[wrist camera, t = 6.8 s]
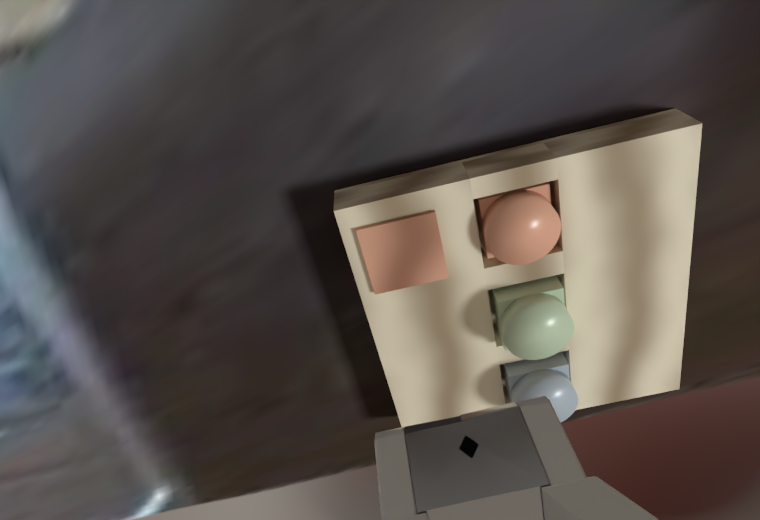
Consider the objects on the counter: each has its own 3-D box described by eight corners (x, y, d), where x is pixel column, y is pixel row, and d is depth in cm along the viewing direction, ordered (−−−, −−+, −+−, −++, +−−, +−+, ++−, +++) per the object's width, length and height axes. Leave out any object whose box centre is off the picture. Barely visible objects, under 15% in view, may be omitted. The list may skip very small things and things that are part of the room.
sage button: (496, 334, 40) (508, 366, 37) (489, 284, 38) (501, 314, 35) (558, 320, 40) (575, 351, 37) (555, 269, 37) (572, 298, 34)
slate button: (506, 399, 44) (518, 432, 41) (500, 357, 41) (512, 390, 38) (563, 387, 43) (579, 420, 41) (560, 344, 41) (576, 377, 38)
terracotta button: (480, 245, 38) (491, 271, 35) (470, 186, 35) (481, 209, 32) (546, 230, 37) (562, 255, 34) (541, 169, 35) (558, 191, 32)
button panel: (403, 415, 47) (407, 446, 44) (334, 190, 35) (333, 213, 33) (660, 362, 45) (681, 391, 43) (675, 108, 34) (705, 124, 31)
